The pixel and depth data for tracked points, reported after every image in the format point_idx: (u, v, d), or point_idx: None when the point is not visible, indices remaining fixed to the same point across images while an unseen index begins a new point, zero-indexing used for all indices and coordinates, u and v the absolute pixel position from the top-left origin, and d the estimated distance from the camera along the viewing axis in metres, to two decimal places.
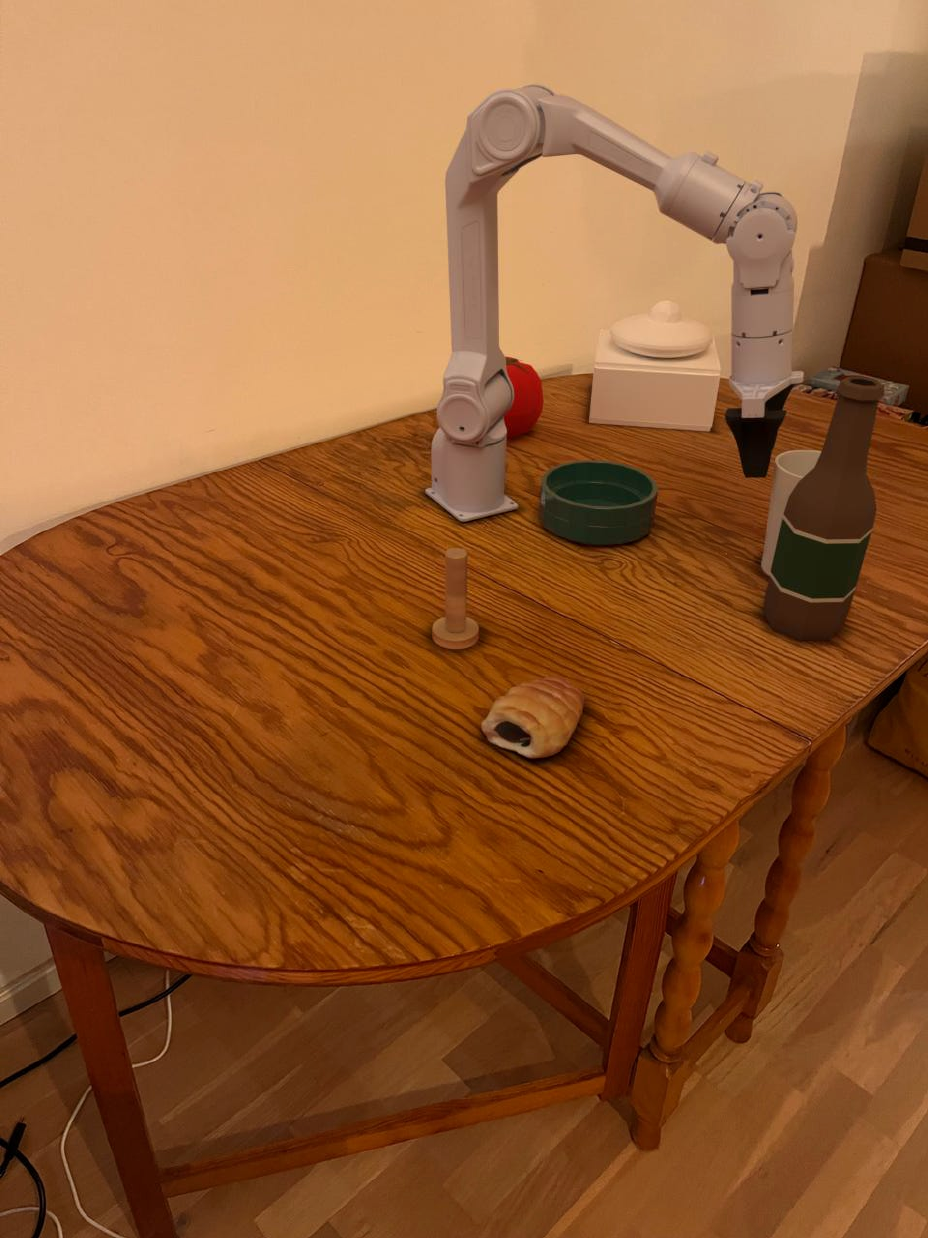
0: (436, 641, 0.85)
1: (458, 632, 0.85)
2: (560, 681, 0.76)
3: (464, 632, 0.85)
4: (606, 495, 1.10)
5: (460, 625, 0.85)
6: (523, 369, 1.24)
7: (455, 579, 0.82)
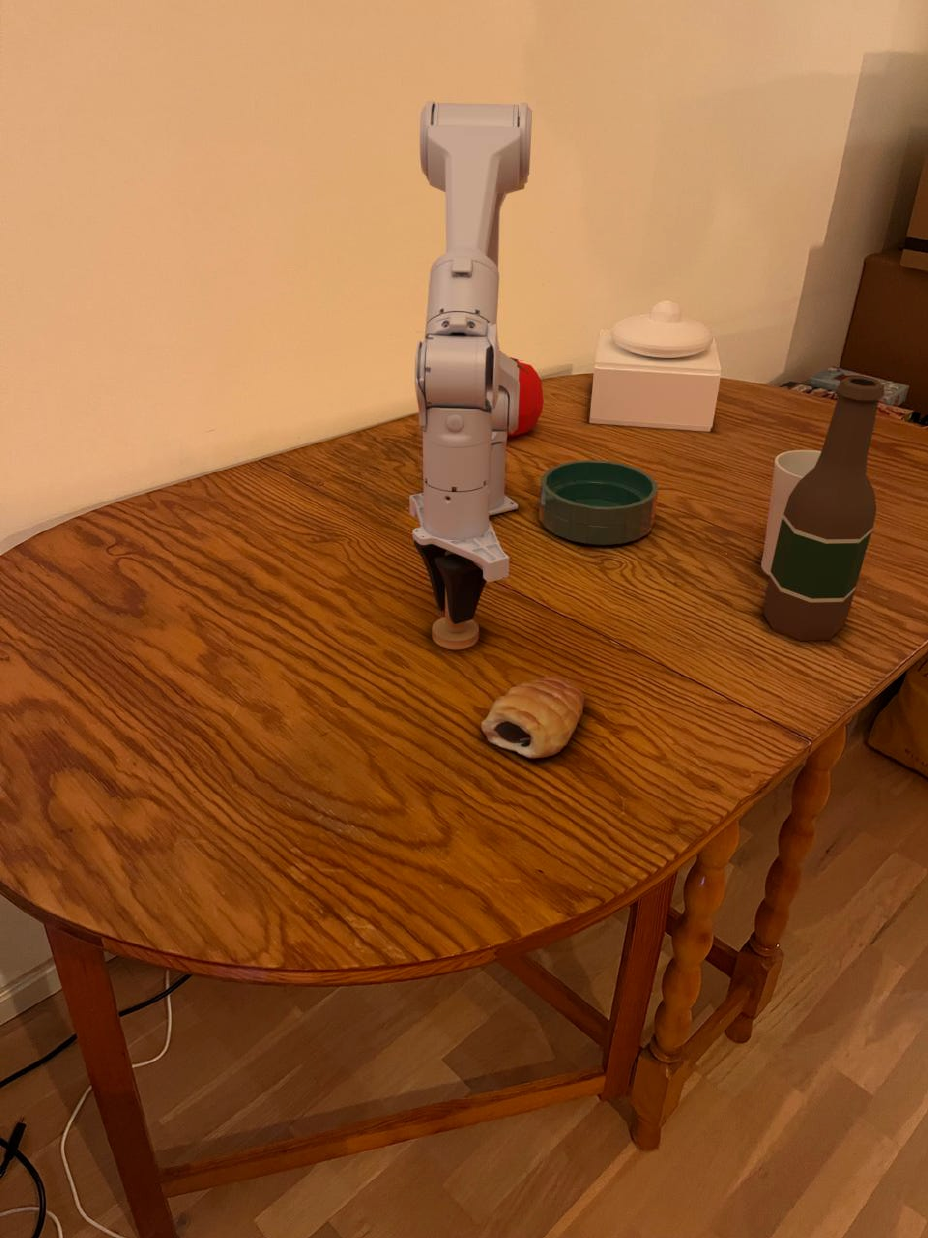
0: (436, 641, 0.85)
1: (458, 632, 0.85)
2: (561, 681, 0.76)
3: (464, 632, 0.85)
4: (606, 495, 1.10)
5: (460, 625, 0.85)
6: (523, 369, 1.24)
7: None
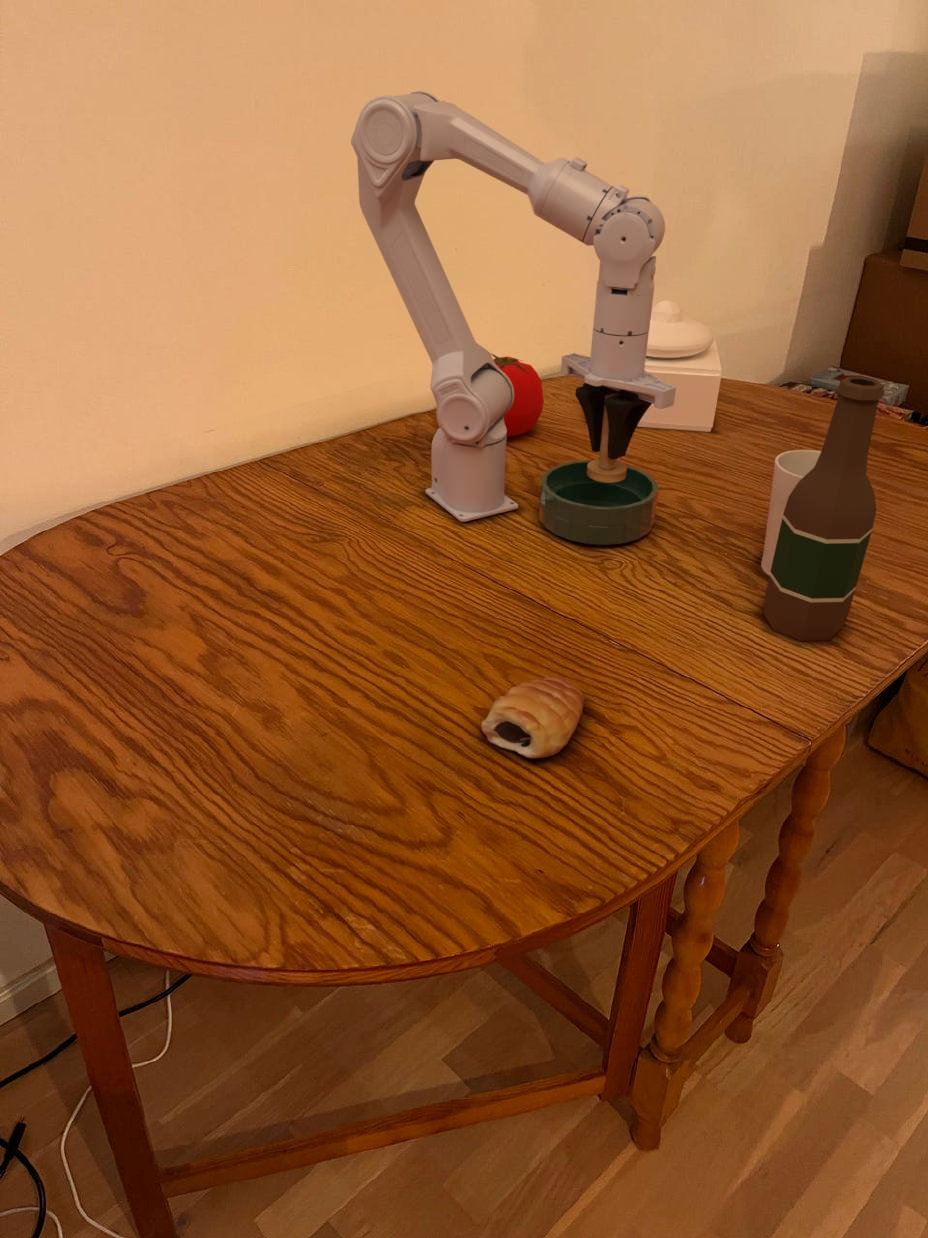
0: (594, 477, 1.01)
1: (612, 468, 1.01)
2: (560, 681, 0.76)
3: (616, 468, 1.01)
4: (606, 495, 1.10)
5: (614, 462, 1.01)
6: (523, 369, 1.24)
7: None
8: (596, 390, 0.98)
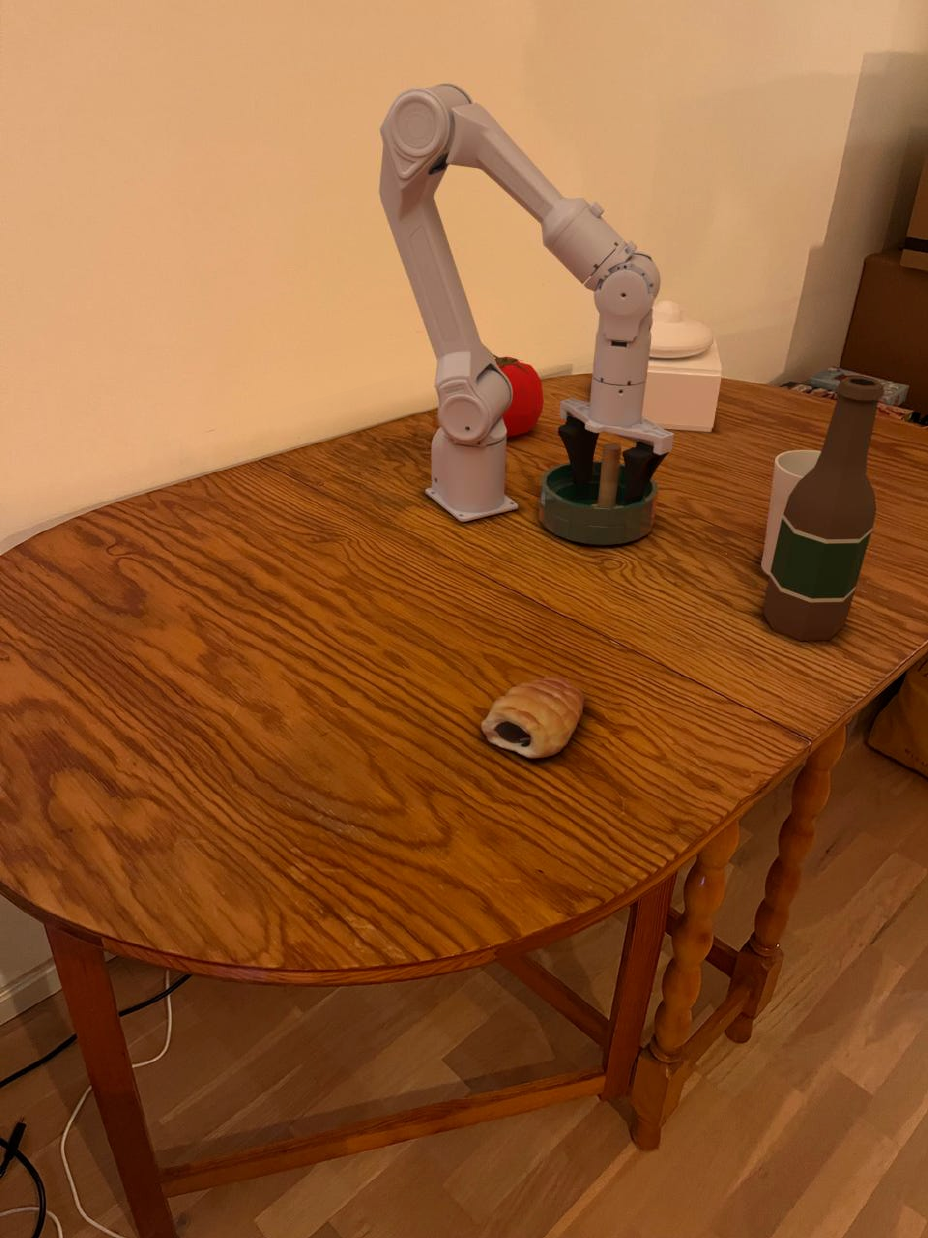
0: None
1: None
2: (560, 681, 0.76)
3: None
4: None
5: None
6: (523, 369, 1.24)
7: (613, 468, 1.02)
8: (578, 428, 1.03)
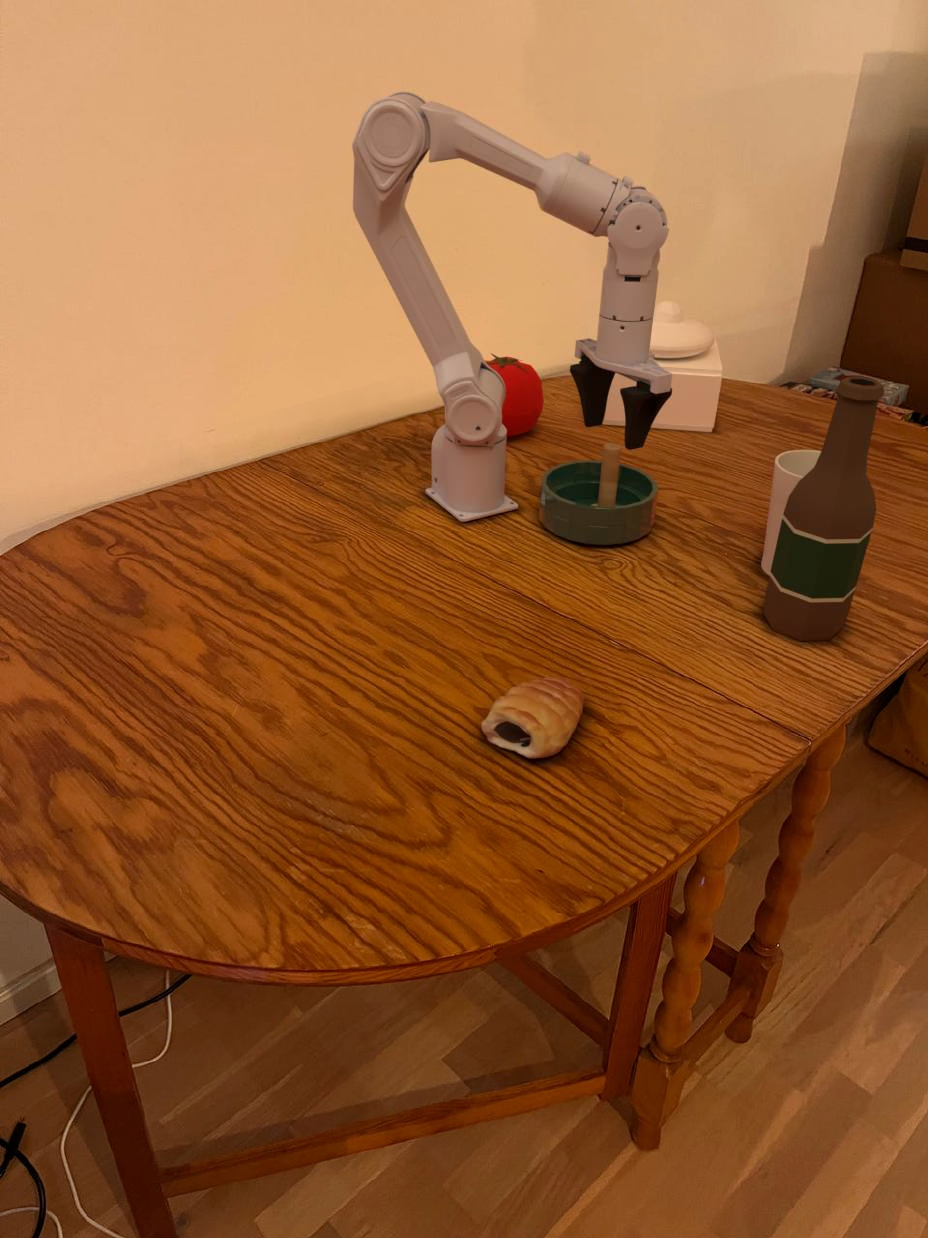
0: None
1: None
2: (560, 681, 0.76)
3: None
4: None
5: None
6: (523, 369, 1.24)
7: (613, 468, 1.02)
8: None
